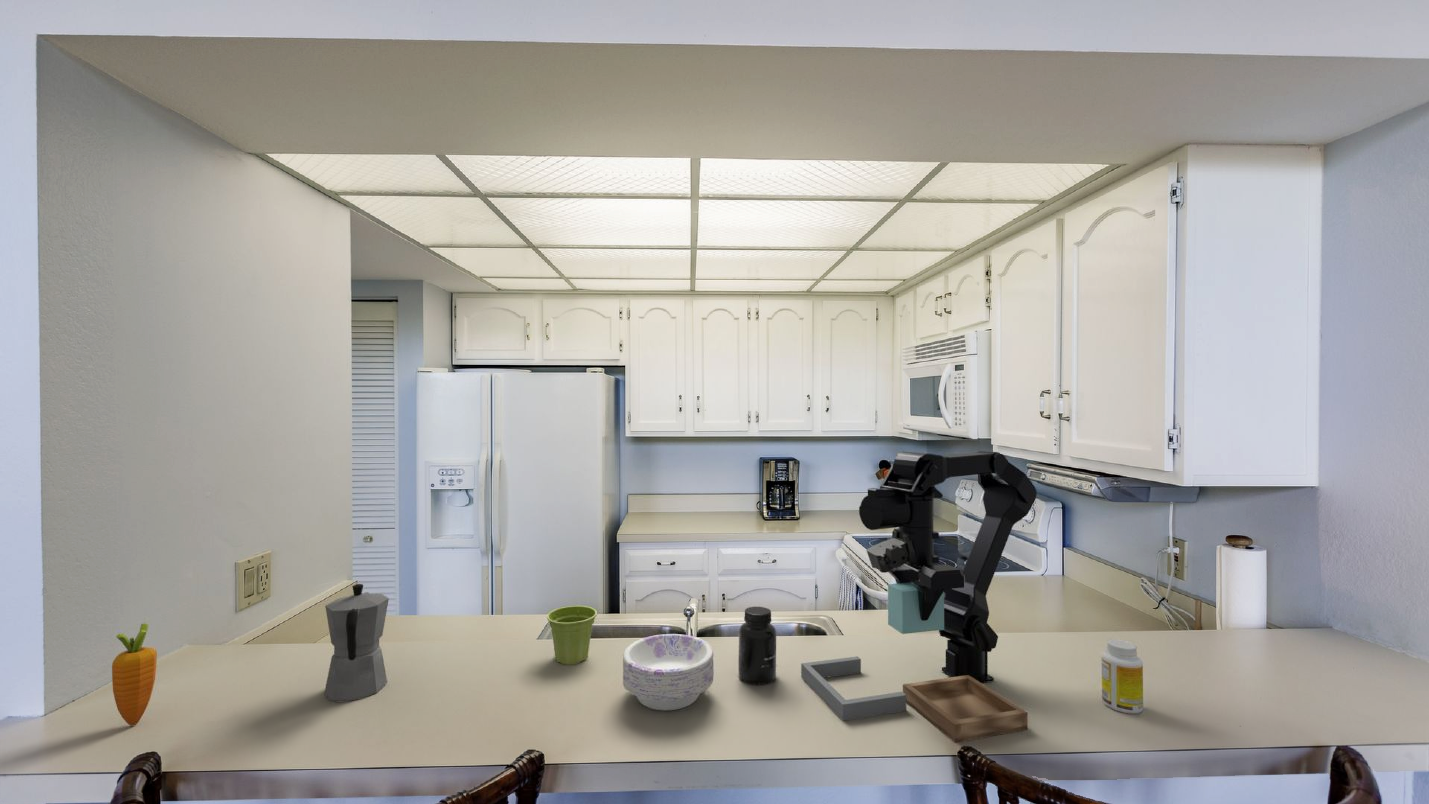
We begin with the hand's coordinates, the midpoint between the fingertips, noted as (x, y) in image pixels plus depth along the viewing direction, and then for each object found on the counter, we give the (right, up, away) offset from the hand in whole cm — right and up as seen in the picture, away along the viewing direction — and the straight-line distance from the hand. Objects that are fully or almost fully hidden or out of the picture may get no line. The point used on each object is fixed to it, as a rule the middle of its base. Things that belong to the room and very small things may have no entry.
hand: (916, 615), depth 101 cm
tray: (+5, -13, -8) cm, 16 cm away
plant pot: (-62, -13, +12) cm, 65 cm away
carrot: (-123, -13, -12) cm, 124 cm away
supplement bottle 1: (-27, -13, +5) cm, 31 cm away
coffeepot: (-96, -13, -1) cm, 97 cm away
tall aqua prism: (0, -2, 0) cm, 2 cm away
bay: (-11, -13, -1) cm, 17 cm away
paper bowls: (-43, -13, -3) cm, 45 cm away
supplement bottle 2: (+32, -13, -5) cm, 35 cm away
